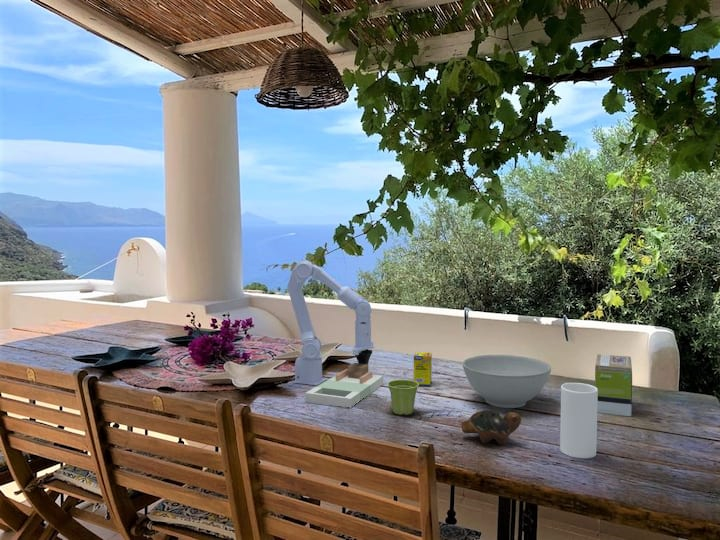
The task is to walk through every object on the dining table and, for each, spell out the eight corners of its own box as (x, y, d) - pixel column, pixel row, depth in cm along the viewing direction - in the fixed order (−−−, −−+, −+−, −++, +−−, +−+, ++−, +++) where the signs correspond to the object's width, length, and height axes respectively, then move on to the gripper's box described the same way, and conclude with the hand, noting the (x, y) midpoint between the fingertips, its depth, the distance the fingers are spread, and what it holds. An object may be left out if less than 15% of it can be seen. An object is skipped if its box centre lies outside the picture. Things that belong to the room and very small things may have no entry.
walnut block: (348, 377, 187) (347, 366, 187) (354, 373, 192) (354, 362, 192) (362, 379, 185) (362, 367, 184) (368, 375, 190) (368, 364, 190)
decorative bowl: (564, 400, 169) (565, 363, 168) (526, 423, 149) (526, 381, 148) (488, 384, 187) (489, 350, 186) (446, 403, 168) (446, 365, 167)
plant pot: (401, 404, 166) (401, 377, 166) (425, 411, 160) (425, 383, 159) (381, 412, 160) (380, 383, 159) (404, 419, 153) (404, 390, 153)
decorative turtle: (524, 449, 132) (522, 418, 131) (462, 449, 134) (460, 419, 134) (519, 432, 141) (517, 403, 140) (461, 433, 144) (459, 404, 143)
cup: (554, 445, 134) (555, 383, 133) (585, 443, 135) (586, 382, 133) (569, 459, 126) (571, 393, 125) (603, 457, 126) (604, 391, 125)
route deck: (305, 402, 170) (305, 386, 170) (342, 379, 195) (342, 366, 195) (350, 408, 163) (350, 392, 163) (383, 384, 189) (383, 370, 189)
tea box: (596, 398, 171) (597, 353, 170) (630, 402, 167) (632, 355, 166) (593, 412, 158) (595, 363, 157) (631, 417, 153) (633, 367, 152)
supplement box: (430, 387, 185) (430, 356, 184) (413, 386, 186) (413, 355, 185) (431, 382, 191) (431, 352, 190) (415, 381, 192) (415, 351, 191)
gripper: (365, 337, 183) (365, 376, 184) (380, 330, 197) (380, 366, 198) (347, 336, 186) (347, 374, 187) (363, 329, 199) (363, 364, 200)
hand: (363, 370), depth 193 cm, fingers closed
